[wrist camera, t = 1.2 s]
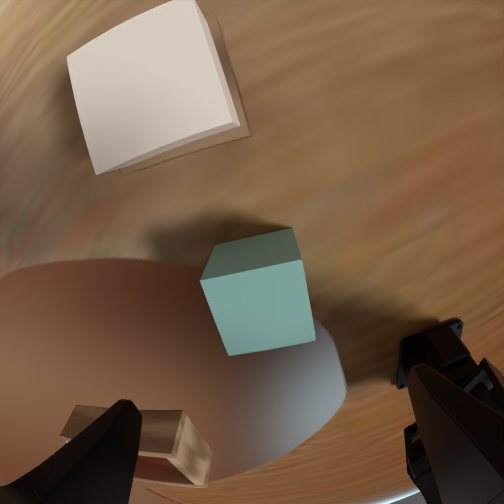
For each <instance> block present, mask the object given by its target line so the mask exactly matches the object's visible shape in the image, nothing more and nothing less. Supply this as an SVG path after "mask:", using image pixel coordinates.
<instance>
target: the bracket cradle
mask: <svg viewBox="0 0 504 504" xmlns="http://www.w3.org/2000/svg"><path fill="white" fill-rule="evenodd" d="M108 409H109V408H101V407H91V406H83V405H76V407H75V408H74V410H73V412H72V414H71V416H70V418H69V419H68V421H67V423H66V425H65V427H64V428H63V430H62V433H61V434H60V437H62V438H63V440H65V441H66V442H67V443H68V442H69V441H70V440H71V439H73V438H74V437H75V436H76V435H78V434H79V433H80V432H81V431H82V430H84V429H85V428H86V427H87V426H89V425H90V424H91V423H92V422H93V421H95V420H96V419H97V418H98V417H99V416H101V415H102V414H103V413H104V412H105V411H107V410H108ZM139 411H140V413H141V415H142V428H141V436H140V445H139V453H138V459H137V464H136V468H135V473H134V477H133V480H137V481H143V482H149V483H156V484H164V485H172V486H183V487H196V488H207V484H208V478H209V471H210V464H211V457H212V450H211V448H210V447H209V446H208V445H207V443H206V442H205V440H204V439H203V438H202V437H201V435H200V434H199V432H198V431H197V430H196V428H195V427H194V426H193V424H192V423H191V421H190V420H189V418H188V417H187V416H186V414H185V413H184V412H183V410H139Z"/></svg>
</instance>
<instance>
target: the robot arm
mask: <svg viewBox="0 0 504 504" xmlns="http://www.w3.org/2000/svg"><path fill="white" fill-rule="evenodd" d="M462 329H463V322H462V321H461V320H460V319H459V320H456V321H453V322H451V323H448V324H445V325H443V326H440V327H437V328H434V329H431V330H428V331H426V332H423V333H420V334H417V335H414V336H410V337H407V338H405V339H403V340H402V341H401V344H400V355H399V365H398V373H397V381H396V386H397V389H403V388H406V387H408V392H409V395H410V399H411V403H412V407H413V411H414V415H415V419H416V422H414V423H413V424H412V425H411V426H410V425H409V426H408V427H406V428H405V429H404V436H405V448H406V463H407V473H408V474H409V476H410V478H411V479H412V481H413V483H414V484H415V485H416V486H417V487H418V489H419V490H420V491H421V493H422V494H423V496H424V498H425V500H426V503H427V504H504V376H503V375H502V373H501V372H500V371H499V370H498V369H497V368H496V367H495V366H493V365H492V364H491V363H490V362H489V361H488V360H487V359H486V358H483V359H482V360H481V361H480V364H479V365H477V364H476V362H475V361H474V360H473V358H472V357H471V355H470V354H471V353H470V351H469V350H468V349H467V347H466V346H465V345H464V343H463V342H462V341H461V339H460V338H461V334H462ZM141 428H142V415H141V413H140V411H139V410H138V409H137V407H136V406H135V405H134V403H133V402H132V401H131V400H125V399H121V400H119V401H117V402H116V403H115V404H114V405H113V406H111V407H110V408H109V409H108V410H107V411H105V412H104V413H103V414H102V415H101V416H99V417H98V418H97V419H96V420H95V421H93V422H92V423H91V424H90V425H89V426H87V427H86V428H85V429H84V430H82V431H81V432H80V433H79V434H78V435H76V436H75V437H74V438H73V439H71V440H70V441H69V442H68V443H67V444H65V445H64V446H63V447H62V448H60V449H59V450H58V451H57V452H55V453H54V455H52V456H50V457H49V458H48V459H47V460H45V461H44V462H43V463H41V464H40V465H39V466H37V467H36V468H34V469H33V470H31V471H30V472H28V473H26V474H25V475H23V476H22V477H20V478H19V479H17V480H15V481H14V482H12V483H10V484H8V485H5V486H0V504H128V502H129V497H130V492H131V487H132V482H133V477H134V473H135V468H136V464H137V459H138V453H139V445H140V436H141Z"/></svg>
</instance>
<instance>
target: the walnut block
mask: <svg viewBox="0 0 504 504" xmlns="http://www.w3.org/2000/svg"><path fill="white" fill-rule="evenodd" d="M204 18H205V20H206V21H207V24H208V27H209V30H210V33H211V36H212V39H213V42H214V45H215V48H216V51H217V54H218V57H219V60H220V63H221V66H222V69H223V72H224V75H225V78H226V82H227V85H228V88H229V91H230V94H231V97H232V100H233V104H234V107H235V110H236V113H237V117H238V120H239V123H240V126H239V127H235V128H232V129H229V130H225V131H222V132H219V133H216V134H213V135H210V136H207V137H204V138H201V139H198V140H195V141H192V142H189V143H186V144H184V145H181V146H178V147H175V148H173V149H170V150H167V151H165V152H162V153H160V154H157V155H154V156H152V157H149V158H147V159H145V160H142V161H140V162H137V163H135V164H133V165H130V166H127V167H123V168H119V169H120V173H121V176H124V175H127V174H130V173H133V172H136V171H139V170H142V169H145V168H148V167H151V166H154V165H157V164H160V163H162V162H165V161H168V160H171V159H174V158H177V157H180V156H184V155H187V154H190V153H193V152H196V151H200V150H203V149H206V148H210V147H213V146H217V145H220V144H224V143H228V142H231V141H235V140H239V139H243V138H247V137H251V136H252V134H251V131H250V127H249V123H248V119H247V116H246V112H245V108H244V105H243V101H242V98H241V94H240V90H239V87H238V83H237V80H236V76H235V73H234V69H233V66H232V62H231V59H230V55H229V52H228V48H227V45H226V42H225V38H224V35H223V32H222V30H221V27H220V25H219V22H218V20H217V18H216V15H215V14H211V15H208V16H205V17H204Z"/></svg>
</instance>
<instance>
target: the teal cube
mask: <svg viewBox="0 0 504 504" xmlns="http://www.w3.org/2000/svg"><path fill="white" fill-rule="evenodd" d="M200 282H201V285H202V288H203V291H204V293H205V296H206V299H207V302H208V304H209V307H210V309H211V312H212V315H213V317H214V320H215V323H216V325H217V328H218V330H219V333H220V335H221V338H222V340H223V343H224V345H225V348H226V350H227V353H228V355H229V356H231V355H238V354H244V353H251V352H257V351H263V350H269V349H275V348H281V347H286V346H291V345H297V344H302V343H306V342H311V341H316V336H315V330H314V324H313V318H312V312H311V306H310V301H309V295H308V290H307V284H306V279H305V273H304V268H303V263H302V258H301V255H300V252H299V248H298V245H297V242H296V238H295V235H294V232H293V228H288V229H284V230H279V231H274V232H270V233H265V234H261V235H256V236H252V237H248V238H243V239H239V240H234V241H230V242H225V243H221V244H217V245H215V246H214V249H213V251H212V253H211V256H210V258H209V260H208V263H207V265H206V267H205V270H204V272H203V275H202V277H201V279H200Z"/></svg>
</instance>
